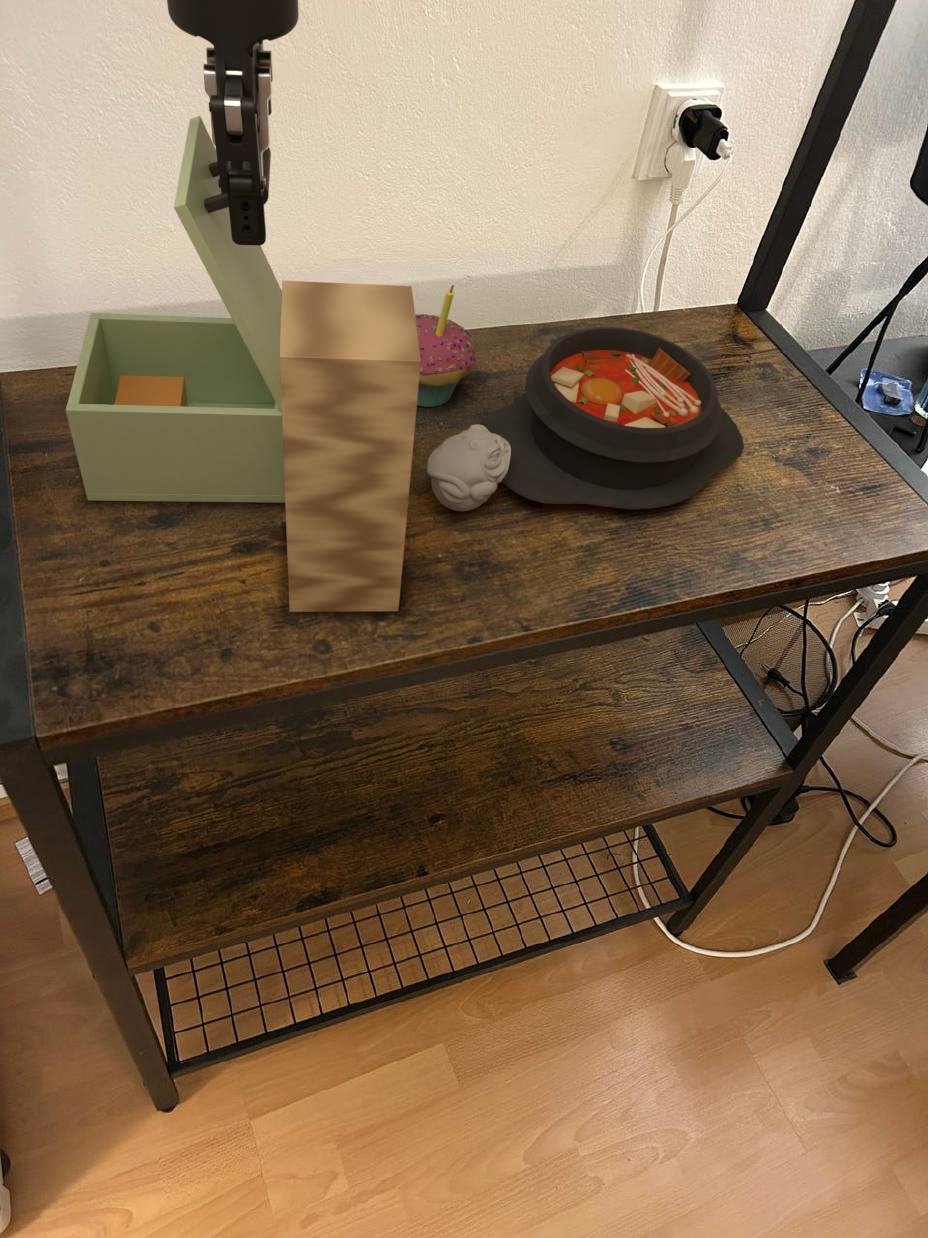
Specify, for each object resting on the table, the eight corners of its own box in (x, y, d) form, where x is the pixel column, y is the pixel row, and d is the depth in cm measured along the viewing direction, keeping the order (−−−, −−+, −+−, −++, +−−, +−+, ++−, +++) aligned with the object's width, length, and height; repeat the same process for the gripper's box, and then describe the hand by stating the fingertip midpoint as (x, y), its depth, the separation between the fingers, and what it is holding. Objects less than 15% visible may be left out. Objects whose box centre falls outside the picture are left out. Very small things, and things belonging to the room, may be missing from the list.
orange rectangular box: (123, 460, 78) (113, 410, 75) (129, 424, 81) (120, 374, 78) (186, 461, 79) (179, 411, 75) (190, 425, 82) (184, 376, 78)
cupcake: (488, 396, 91) (506, 280, 82) (424, 433, 86) (437, 313, 77) (423, 354, 94) (434, 237, 85) (359, 387, 90) (363, 267, 81)
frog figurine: (515, 517, 80) (528, 451, 75) (438, 536, 78) (446, 469, 73) (483, 471, 84) (494, 405, 79) (409, 487, 81) (415, 420, 76)
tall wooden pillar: (289, 612, 71) (279, 356, 55) (290, 535, 76) (282, 279, 60) (398, 611, 72) (421, 360, 56) (392, 535, 77) (411, 285, 61)
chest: (87, 500, 76) (65, 409, 70) (108, 401, 84) (90, 312, 78) (288, 503, 79) (285, 415, 72) (290, 406, 87) (288, 319, 80)
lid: (173, 207, 59) (250, 181, 59) (189, 118, 67) (257, 95, 67) (280, 411, 72) (345, 392, 71) (283, 316, 80) (341, 298, 79)
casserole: (667, 372, 97) (691, 296, 90) (778, 491, 86) (814, 415, 80) (439, 416, 88) (448, 336, 82) (533, 556, 78) (551, 476, 71)
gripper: (169, -114, 58) (202, 166, 71) (143, -34, 49) (187, 272, 62) (296, -104, 59) (306, 170, 72) (294, -24, 50) (306, 275, 63)
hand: (251, 216), depth 67 cm, fingers closed on lid, 6 cm apart
